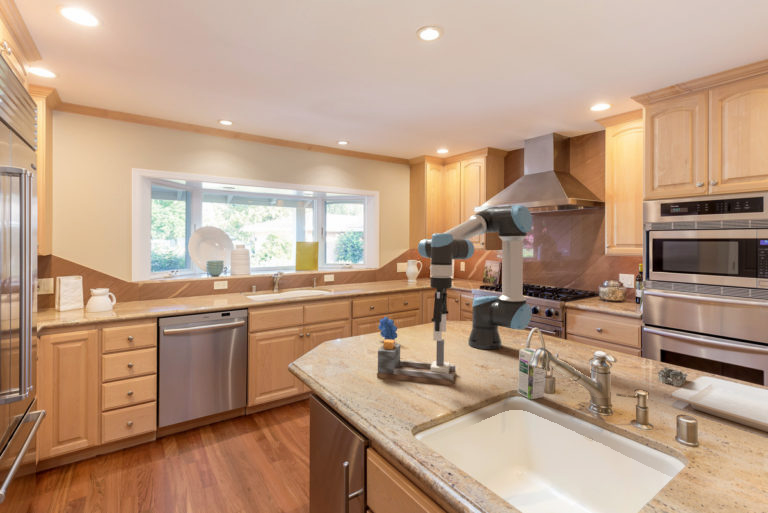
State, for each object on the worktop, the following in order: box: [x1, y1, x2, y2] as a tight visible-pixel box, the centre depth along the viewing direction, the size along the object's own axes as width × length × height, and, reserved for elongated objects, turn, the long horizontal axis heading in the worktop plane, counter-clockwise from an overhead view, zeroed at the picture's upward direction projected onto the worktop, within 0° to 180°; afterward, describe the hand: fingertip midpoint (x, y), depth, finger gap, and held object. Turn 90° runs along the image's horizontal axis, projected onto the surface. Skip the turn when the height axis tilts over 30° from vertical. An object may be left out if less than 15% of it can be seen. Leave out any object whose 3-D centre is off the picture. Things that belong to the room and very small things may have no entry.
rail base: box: [376, 343, 457, 386], centre depth 138 cm, size 27×12×10 cm, turn 74°
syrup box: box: [517, 347, 545, 400], centre depth 121 cm, size 6×6×14 cm
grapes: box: [378, 316, 398, 341], centre depth 183 cm, size 12×7×12 cm, turn 49°
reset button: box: [382, 339, 396, 349], centre depth 141 cm, size 4×4×3 cm
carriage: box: [430, 338, 451, 374], centre depth 136 cm, size 6×7×12 cm
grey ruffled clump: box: [656, 366, 688, 387], centre depth 134 cm, size 10×7×4 cm
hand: (439, 335), depth 135 cm, fingers open, 13 cm apart
